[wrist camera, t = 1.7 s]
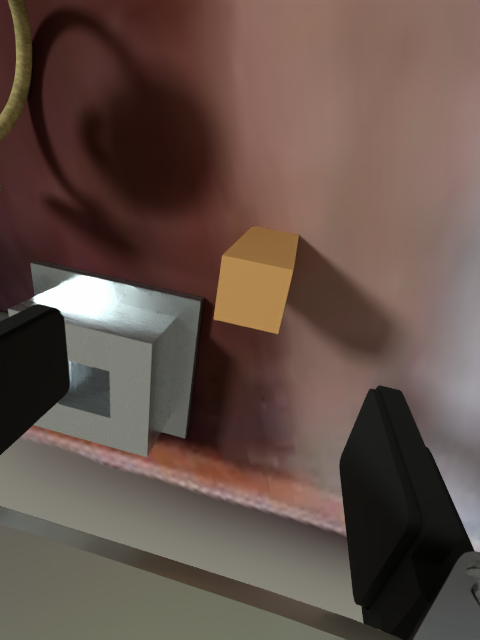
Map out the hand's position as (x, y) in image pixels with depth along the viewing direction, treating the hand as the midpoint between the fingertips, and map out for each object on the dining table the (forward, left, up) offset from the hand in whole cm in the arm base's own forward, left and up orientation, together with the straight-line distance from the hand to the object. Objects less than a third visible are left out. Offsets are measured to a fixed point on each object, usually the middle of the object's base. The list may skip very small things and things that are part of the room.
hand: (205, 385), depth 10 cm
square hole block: (+13, +13, -18) cm, 26 cm away
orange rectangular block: (0, 0, -18) cm, 18 cm away
